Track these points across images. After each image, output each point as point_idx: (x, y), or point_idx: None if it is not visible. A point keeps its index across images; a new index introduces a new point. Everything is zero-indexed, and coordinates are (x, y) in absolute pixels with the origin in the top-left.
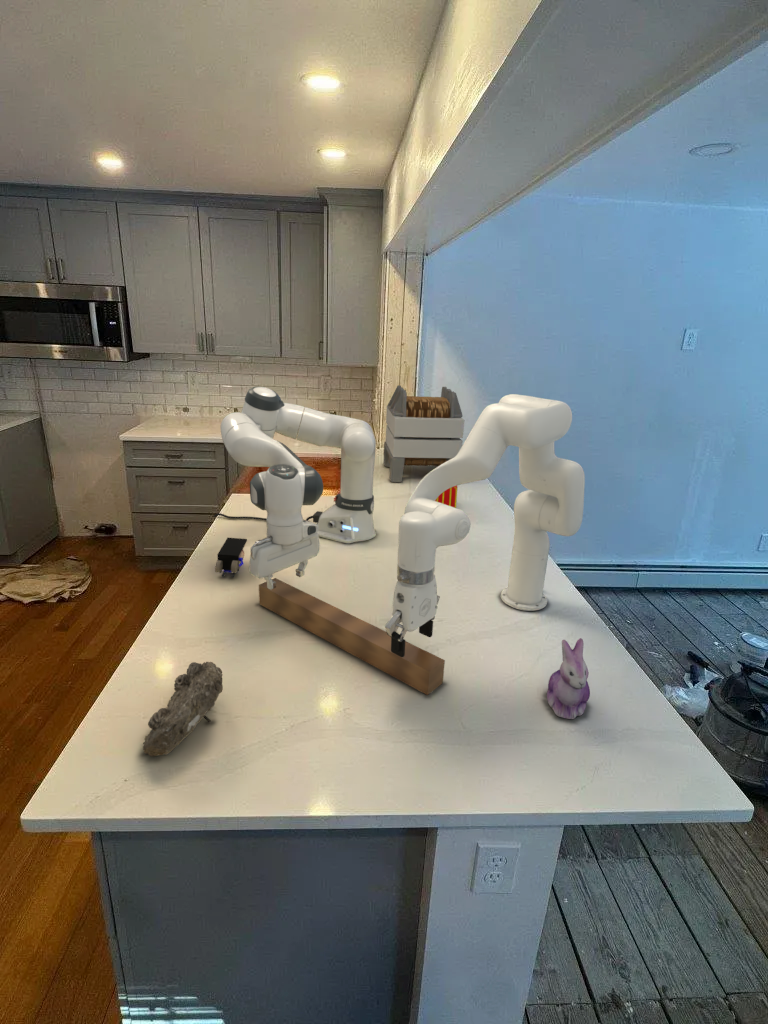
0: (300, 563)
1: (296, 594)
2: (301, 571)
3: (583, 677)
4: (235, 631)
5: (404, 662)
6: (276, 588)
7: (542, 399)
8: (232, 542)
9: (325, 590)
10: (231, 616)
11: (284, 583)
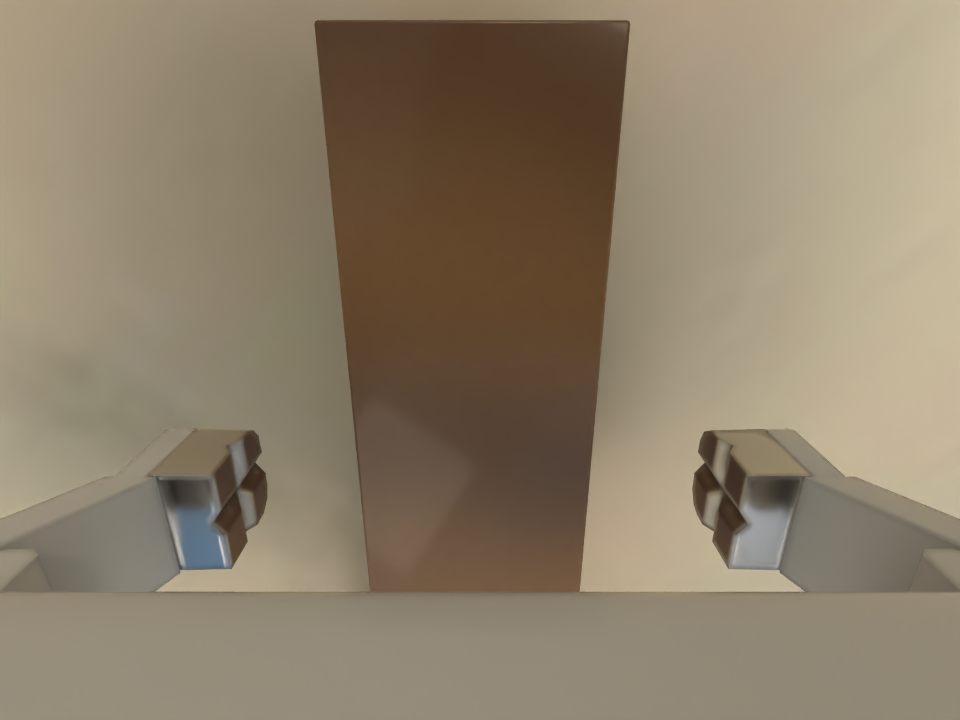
0: (905, 547)
1: (492, 525)
2: (750, 562)
3: None
4: (2, 284)
5: None
6: (427, 292)
7: None
8: None
9: (937, 297)
10: (56, 52)
11: (585, 259)
